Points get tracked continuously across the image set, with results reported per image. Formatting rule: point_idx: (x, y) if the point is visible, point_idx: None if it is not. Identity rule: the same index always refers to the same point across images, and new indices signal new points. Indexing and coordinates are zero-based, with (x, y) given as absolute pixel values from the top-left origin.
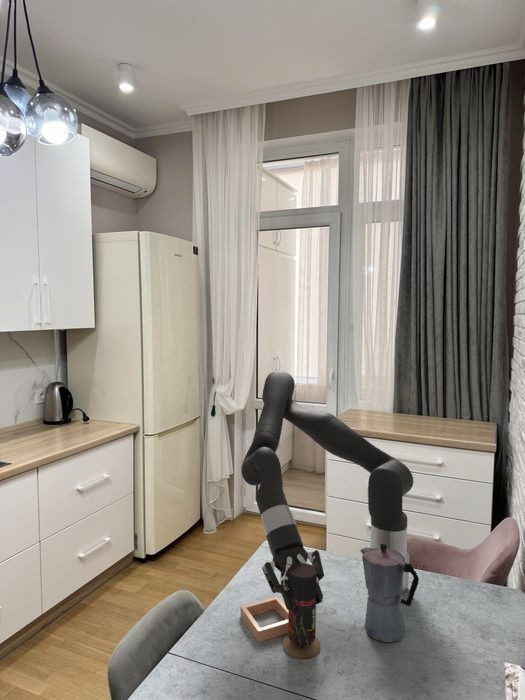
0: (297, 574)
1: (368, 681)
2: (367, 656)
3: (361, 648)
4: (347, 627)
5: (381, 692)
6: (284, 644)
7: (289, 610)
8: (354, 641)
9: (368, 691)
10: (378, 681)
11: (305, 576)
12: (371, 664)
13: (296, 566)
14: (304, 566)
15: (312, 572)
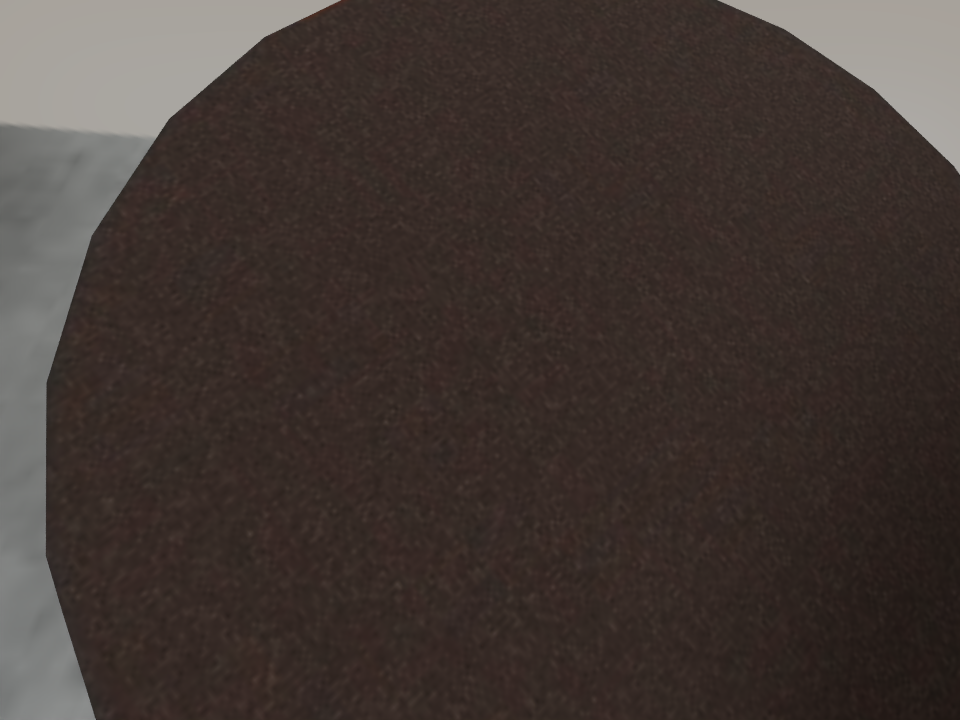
0: (803, 133)
1: (97, 209)
2: (13, 393)
3: (22, 468)
4: (36, 714)
5: (57, 140)
6: None
7: None
8: (45, 541)
9: (126, 151)
10: (37, 204)
11: (567, 19)
12: (18, 325)
13: (899, 658)
14: (573, 693)
15: (291, 209)
